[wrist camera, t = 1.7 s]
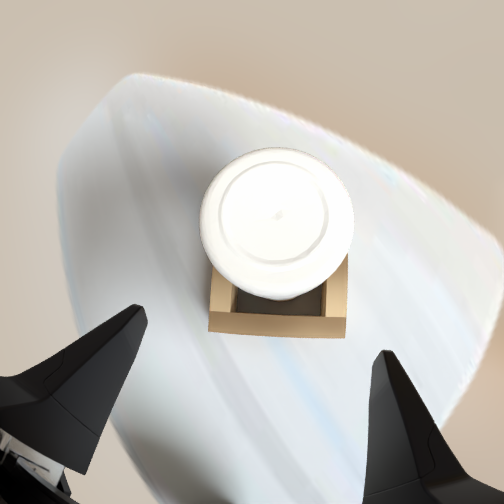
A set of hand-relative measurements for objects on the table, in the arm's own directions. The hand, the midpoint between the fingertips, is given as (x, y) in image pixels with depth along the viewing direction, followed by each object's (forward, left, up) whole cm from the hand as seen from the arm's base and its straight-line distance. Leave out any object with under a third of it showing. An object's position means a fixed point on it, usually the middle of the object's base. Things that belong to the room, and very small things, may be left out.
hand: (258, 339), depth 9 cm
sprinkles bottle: (+4, -1, -11) cm, 12 cm away
